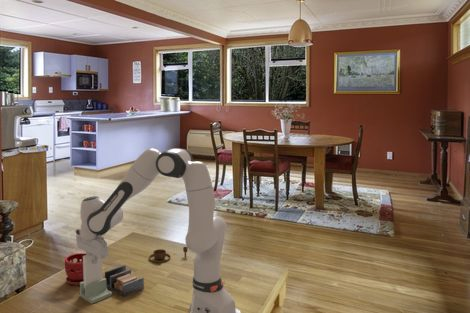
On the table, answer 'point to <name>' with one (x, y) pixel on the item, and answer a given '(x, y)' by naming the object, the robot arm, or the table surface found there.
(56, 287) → the table surface
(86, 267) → the tall sheet
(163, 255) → the place setting
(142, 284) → the offcut rack
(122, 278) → the offcut upper
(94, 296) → the sheet stand
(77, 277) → the plant pot
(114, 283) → the offcut lower
